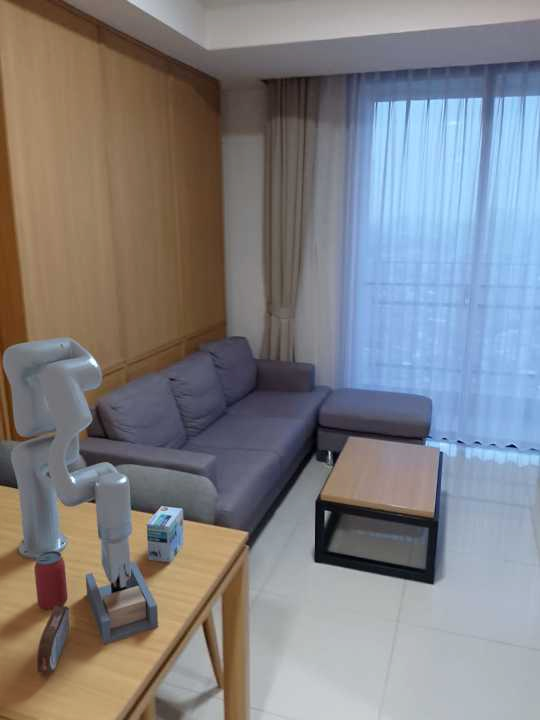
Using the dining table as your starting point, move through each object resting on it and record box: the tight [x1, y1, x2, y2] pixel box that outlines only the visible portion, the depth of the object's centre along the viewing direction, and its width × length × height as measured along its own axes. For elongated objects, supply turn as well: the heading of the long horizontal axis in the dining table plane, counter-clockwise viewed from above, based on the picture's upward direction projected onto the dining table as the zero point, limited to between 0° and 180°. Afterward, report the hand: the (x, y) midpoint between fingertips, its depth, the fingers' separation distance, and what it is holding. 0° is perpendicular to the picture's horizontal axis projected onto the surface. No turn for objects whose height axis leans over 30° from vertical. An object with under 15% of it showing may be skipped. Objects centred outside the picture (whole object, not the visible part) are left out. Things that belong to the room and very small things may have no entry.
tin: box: [36, 605, 70, 674], centre depth 116 cm, size 15×3×8 cm, turn 5°
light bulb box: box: [146, 505, 185, 563], centre depth 153 cm, size 11×7×11 cm, turn 168°
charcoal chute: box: [85, 561, 159, 645], centre depth 130 cm, size 19×12×6 cm, turn 28°
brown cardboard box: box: [103, 586, 146, 629], centre depth 126 cm, size 6×8×4 cm
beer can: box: [34, 551, 68, 611], centre depth 132 cm, size 7×7×12 cm
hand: (119, 598), depth 131 cm, fingers closed
